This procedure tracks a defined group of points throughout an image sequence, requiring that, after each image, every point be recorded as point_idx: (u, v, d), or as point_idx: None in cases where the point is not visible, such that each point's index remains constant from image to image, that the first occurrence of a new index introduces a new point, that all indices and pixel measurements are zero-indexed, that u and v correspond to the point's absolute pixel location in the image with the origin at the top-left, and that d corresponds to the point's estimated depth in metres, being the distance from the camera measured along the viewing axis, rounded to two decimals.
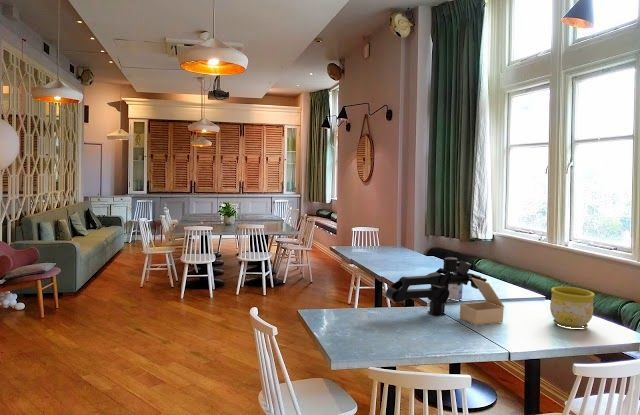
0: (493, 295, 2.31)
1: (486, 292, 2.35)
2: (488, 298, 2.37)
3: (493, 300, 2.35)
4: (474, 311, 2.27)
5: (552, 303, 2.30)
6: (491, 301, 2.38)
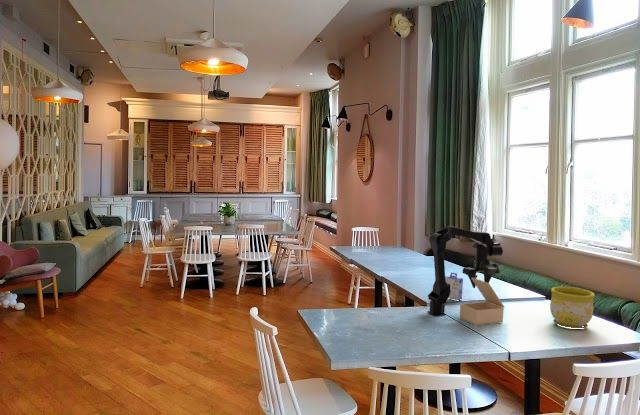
0: (493, 295, 2.31)
1: (486, 292, 2.35)
2: (488, 298, 2.37)
3: (493, 300, 2.35)
4: (474, 311, 2.27)
5: (552, 303, 2.30)
6: (491, 301, 2.38)
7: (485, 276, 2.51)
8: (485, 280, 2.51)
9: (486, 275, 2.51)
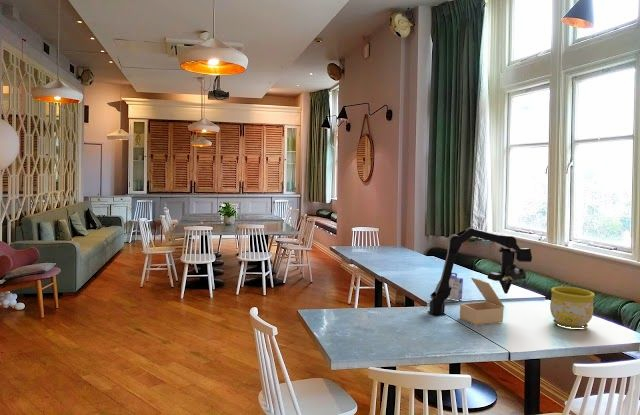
0: (493, 295, 2.31)
1: (486, 292, 2.35)
2: (488, 298, 2.37)
3: (493, 300, 2.35)
4: (474, 311, 2.27)
5: (552, 303, 2.30)
6: (491, 301, 2.38)
7: None
8: None
9: None
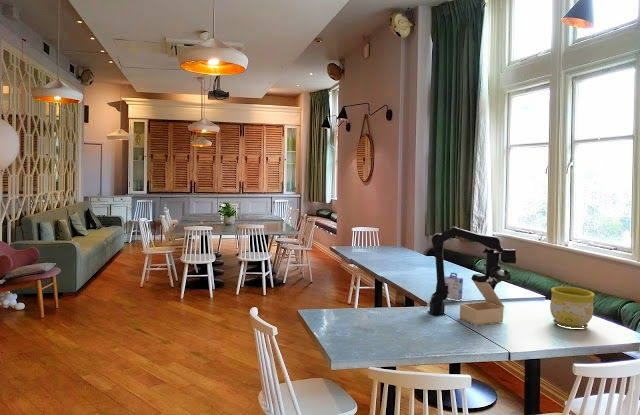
0: (493, 295, 2.31)
1: (486, 292, 2.35)
2: (488, 298, 2.37)
3: (493, 300, 2.35)
4: (474, 311, 2.27)
5: (552, 303, 2.30)
6: (491, 301, 2.38)
7: None
8: None
9: None
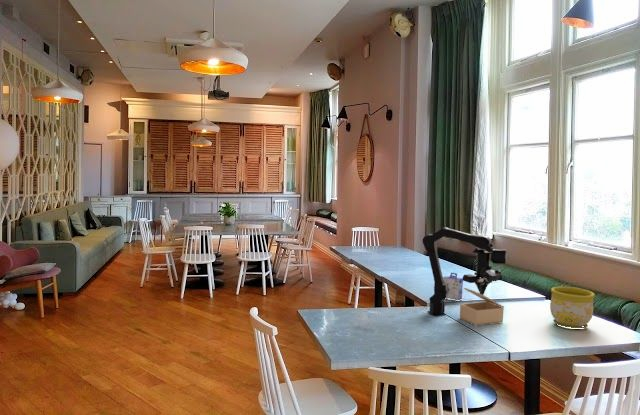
0: (490, 300, 2.30)
1: (482, 297, 2.34)
2: (487, 300, 2.37)
3: (492, 302, 2.35)
4: (474, 311, 2.27)
5: (552, 303, 2.30)
6: (490, 302, 2.37)
7: None
8: None
9: None
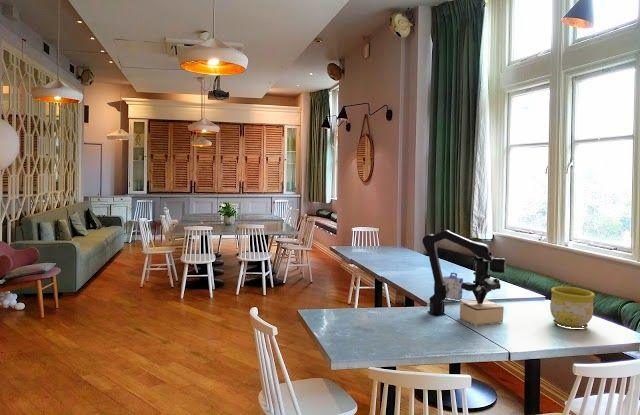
0: None
1: None
2: None
3: None
4: (474, 311, 2.27)
5: (552, 303, 2.30)
6: None
7: None
8: None
9: (481, 291, 2.34)
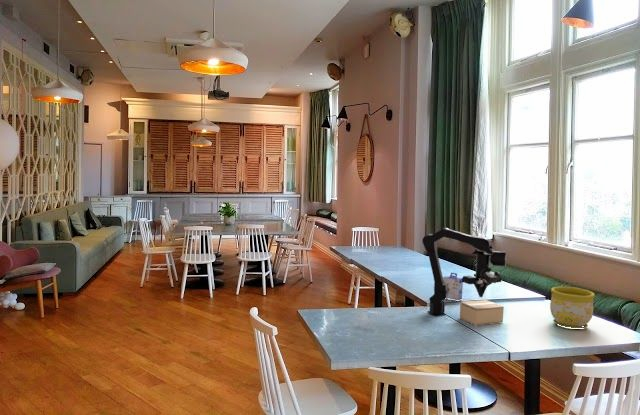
0: None
1: None
2: None
3: None
4: (474, 311, 2.27)
5: (552, 303, 2.30)
6: None
7: None
8: None
9: None
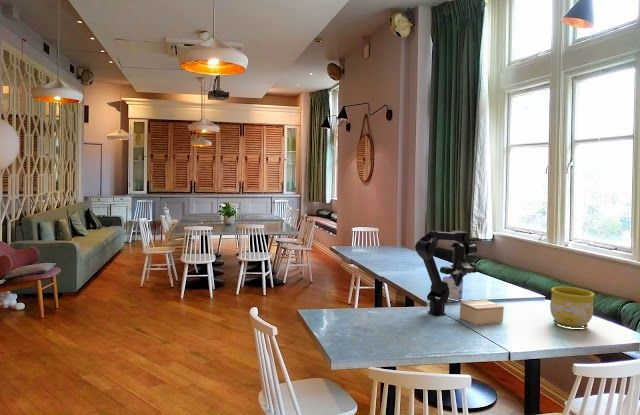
0: None
1: None
2: None
3: None
4: (474, 311, 2.27)
5: (552, 303, 2.30)
6: None
7: None
8: None
9: None
